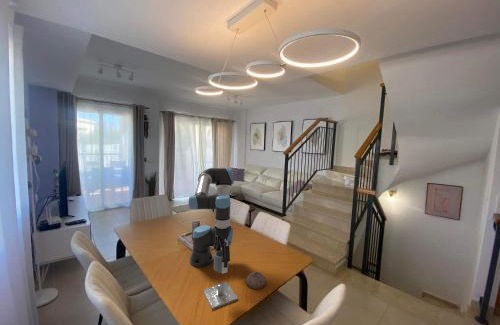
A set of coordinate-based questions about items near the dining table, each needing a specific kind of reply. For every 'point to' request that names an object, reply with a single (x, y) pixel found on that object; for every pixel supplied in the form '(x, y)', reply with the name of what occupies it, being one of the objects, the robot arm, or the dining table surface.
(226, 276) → the dining table surface
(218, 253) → the sleeve
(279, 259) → the dining table surface
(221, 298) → the square plate
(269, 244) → the dining table surface
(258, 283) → the decorative stone
